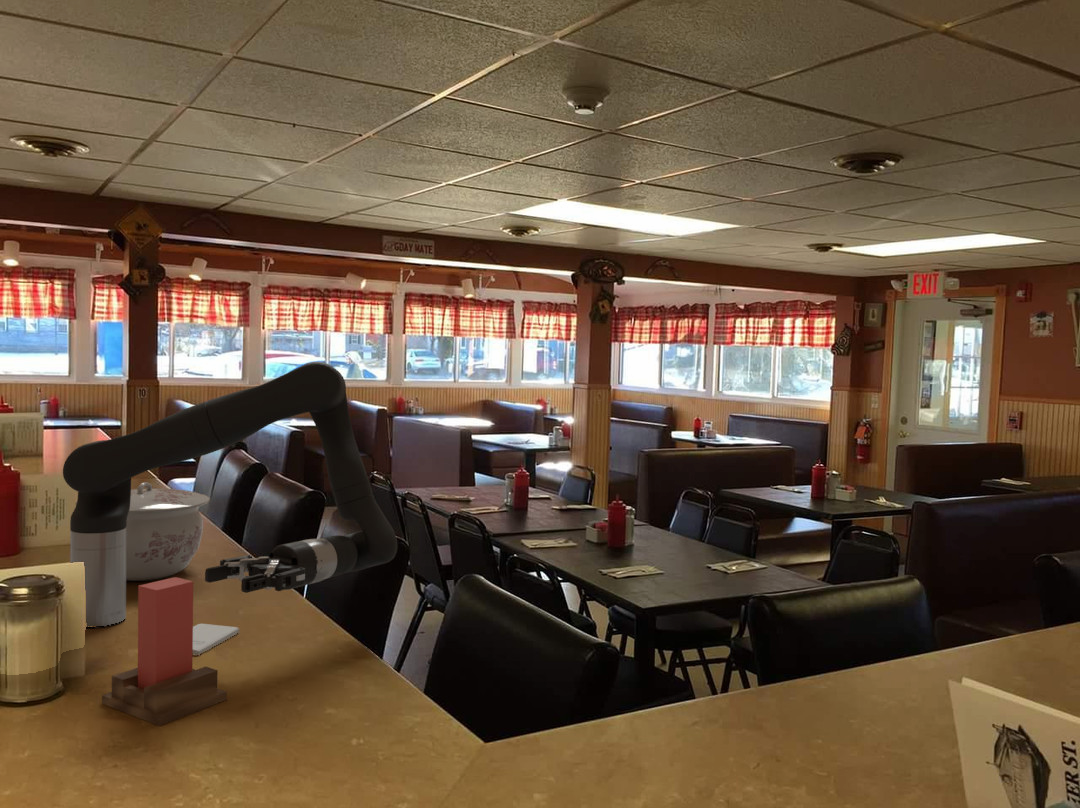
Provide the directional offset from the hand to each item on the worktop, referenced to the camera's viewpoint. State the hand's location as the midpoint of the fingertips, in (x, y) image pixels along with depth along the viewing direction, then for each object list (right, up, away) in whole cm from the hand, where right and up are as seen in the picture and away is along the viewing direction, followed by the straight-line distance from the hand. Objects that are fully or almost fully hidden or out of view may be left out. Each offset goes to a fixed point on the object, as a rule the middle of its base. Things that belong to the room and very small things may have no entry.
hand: (224, 580), depth 134 cm
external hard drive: (-11, -15, +17) cm, 25 cm away
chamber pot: (-40, -11, +61) cm, 74 cm away
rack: (-5, -15, -9) cm, 19 cm away
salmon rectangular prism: (-5, -14, -9) cm, 18 cm away
